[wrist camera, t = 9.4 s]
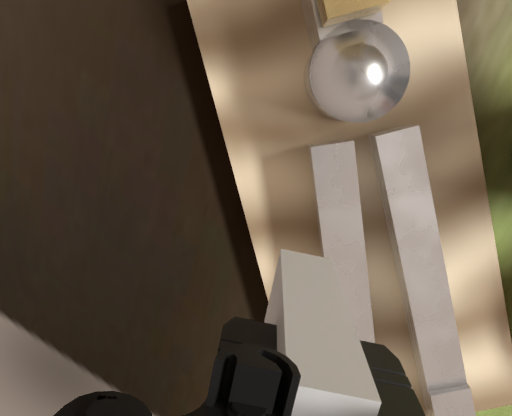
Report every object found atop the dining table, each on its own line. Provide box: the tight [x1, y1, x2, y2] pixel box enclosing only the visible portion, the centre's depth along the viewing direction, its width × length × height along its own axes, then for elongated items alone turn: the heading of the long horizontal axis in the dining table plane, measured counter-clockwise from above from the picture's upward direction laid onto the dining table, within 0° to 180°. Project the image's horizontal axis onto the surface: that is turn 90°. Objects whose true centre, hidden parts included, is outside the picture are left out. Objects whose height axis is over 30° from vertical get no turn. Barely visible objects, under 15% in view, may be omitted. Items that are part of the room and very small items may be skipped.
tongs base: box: [301, 0, 476, 416], centre depth 27 cm, size 30×5×4 cm, turn 15°
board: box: [187, 0, 512, 416], centre depth 30 cm, size 31×15×2 cm, turn 15°
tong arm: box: [308, 139, 375, 343], centre depth 28 cm, size 20×2×2 cm, turn 9°
